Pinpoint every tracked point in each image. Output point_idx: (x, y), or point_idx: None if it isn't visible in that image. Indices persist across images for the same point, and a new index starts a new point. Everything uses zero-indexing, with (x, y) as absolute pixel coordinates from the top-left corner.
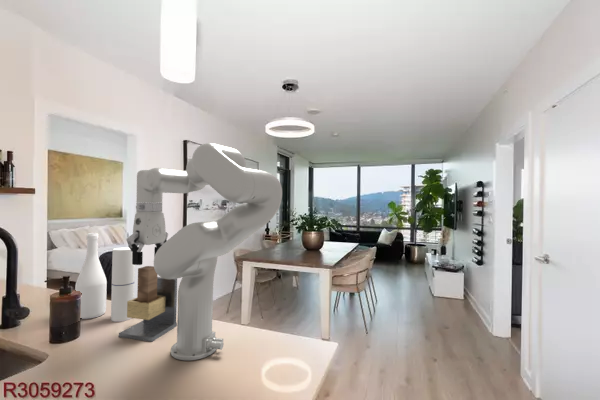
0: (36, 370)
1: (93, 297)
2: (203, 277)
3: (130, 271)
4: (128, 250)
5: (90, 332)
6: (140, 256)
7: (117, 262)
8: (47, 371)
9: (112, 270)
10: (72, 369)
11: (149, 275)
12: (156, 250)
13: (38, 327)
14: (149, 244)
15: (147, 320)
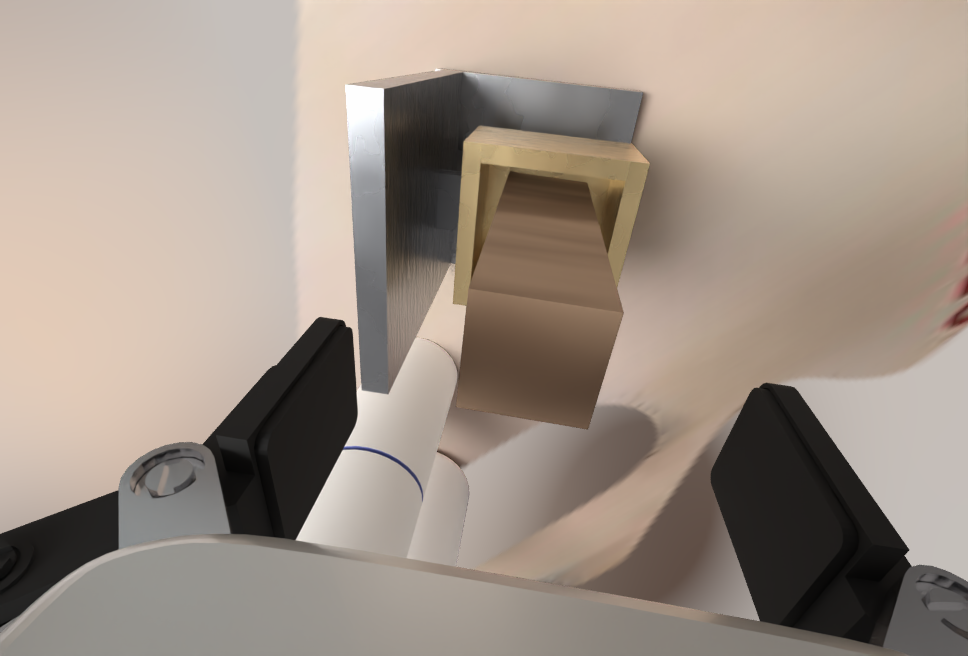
0: (858, 368)
1: (435, 522)
2: None
3: (346, 515)
4: None
5: None
6: (852, 484)
7: None
8: (874, 333)
9: None
10: (877, 264)
11: (600, 277)
12: (304, 487)
13: (545, 540)
14: (846, 641)
15: (451, 241)
